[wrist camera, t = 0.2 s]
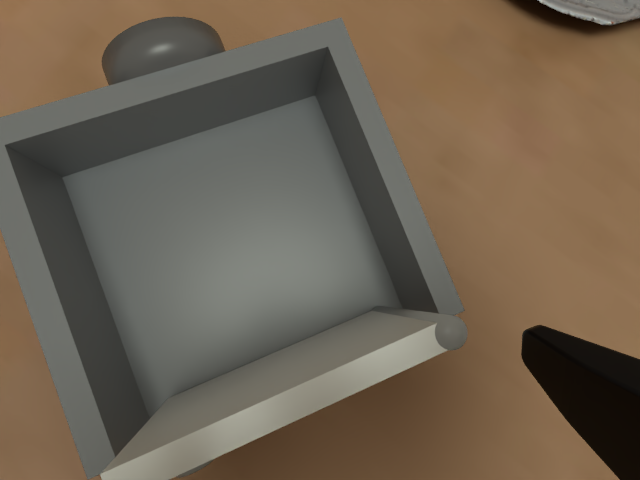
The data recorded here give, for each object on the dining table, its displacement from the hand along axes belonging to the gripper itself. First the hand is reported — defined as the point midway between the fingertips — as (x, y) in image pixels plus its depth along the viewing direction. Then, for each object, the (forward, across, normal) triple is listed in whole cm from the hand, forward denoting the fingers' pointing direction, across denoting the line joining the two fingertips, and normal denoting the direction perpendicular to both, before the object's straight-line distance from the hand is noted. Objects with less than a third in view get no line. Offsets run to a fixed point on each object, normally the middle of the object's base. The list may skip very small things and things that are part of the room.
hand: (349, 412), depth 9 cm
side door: (+11, +1, +8) cm, 14 cm away
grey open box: (+16, +2, +2) cm, 17 cm away
